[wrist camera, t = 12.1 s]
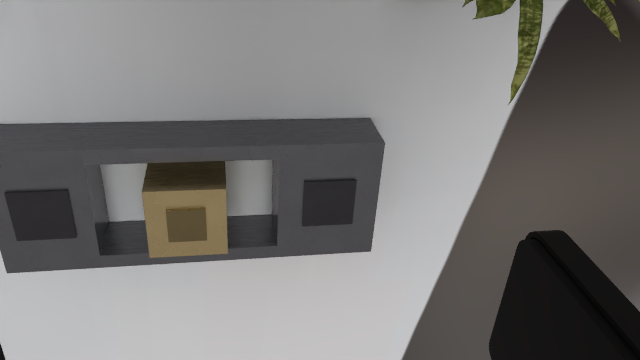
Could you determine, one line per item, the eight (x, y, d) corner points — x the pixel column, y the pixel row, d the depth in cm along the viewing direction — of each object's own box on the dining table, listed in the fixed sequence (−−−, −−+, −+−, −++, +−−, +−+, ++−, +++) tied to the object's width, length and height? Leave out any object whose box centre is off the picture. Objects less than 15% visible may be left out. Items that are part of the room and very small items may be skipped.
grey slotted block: (369, 118, 40) (385, 144, 37) (358, 220, 45) (371, 253, 41) (-6, 124, 36) (-29, 154, 32) (24, 237, 40) (6, 275, 37)
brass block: (224, 145, 39) (226, 190, 34) (225, 204, 42) (227, 255, 37) (150, 147, 39) (141, 193, 33) (157, 207, 41) (149, 259, 36)
